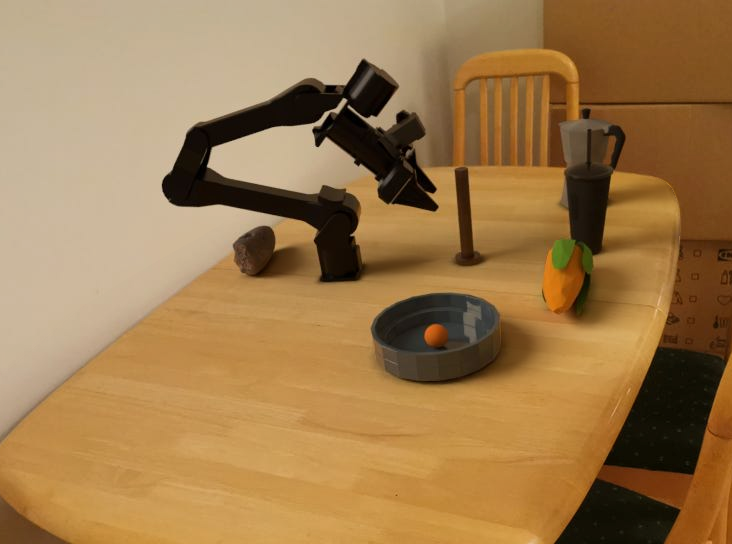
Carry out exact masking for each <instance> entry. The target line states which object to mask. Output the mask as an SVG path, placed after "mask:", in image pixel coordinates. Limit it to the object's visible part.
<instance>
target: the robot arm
mask: <svg viewBox="0 0 732 544" xmlns="http://www.w3.org/2000/svg"><path fill="white" fill-rule="evenodd" d="M399 88H400V85H399V83H398V82H397V80H395V79H394V78H393V77H392V76H391V75H390V74H389V73H388V72H387V71H386V70H385V69H383V68H379V66H377V65H375V64H373V63H372V62H370V61H368V60H367V59H366V58H364V57H363V58H362V59H361V60H360V61H359V63H358V64H357V65H356V69H355V71H354V73H353V74H352V75H351V76H350V79H349V80H348V81H347V83H346V84H325V83H323V82H322V81H321V80H319V79H317V78H315V77H307V78H303V79H302V80H300V81H298V82H296V83H295V84H293V85H291V86H290V87H288V88H286V89H285V90H283V91H281V92H279V93H278V94H277V95H275V96H273V97H272V98H270V99H268V100H265V101H262V102H259V103H256V104H254V105H251V106H248V107H244V108H241V109H239V110H236V111H233V112H229V113H227V114H223V115H221V116H217V117H215V118H212V119H209V120H206V121H198V122H196V123H195V124H193V125H192V126H191V127H190V128H189V129H188V130H187V131H186V133H185V138H184V141H183V143H182V147H181V148H180V150H179V153H178V155H177V157H176V159H175V161H174V164H173V165H172V169H171V170H170V171H169V172H168V173H166V174H165V176H164V177H163V178H162V181H161V192H162V193H163V196H164V197H165V198H166V200H167V201H168V203H170V204H171V205H173V206H175V207H179V208H180V207H181V208H205V207H213V206H224V207H229V208H235V209H240V210H244V211H251V212H255V213H260V214H266V215H270V216H276V217H281V218H284V219H285V218H286V219H290V220H291V219H292V220H295V221H301V222H303V223H306V224H308V225H309V226H310V227H312V228H314V229H315V230H316V233H315V236H314V238H313V243H314V245H315V246H316V247H315V248H316V253H317V256H318V263H319V266H320V268H319V269H320V273H321V274H320V276H319V278H318V281H319V282H337V281H355V280H356V279H357V277H358V276H359V273H360V272H361V270H362V269H363V266H364V264H363V259H362V252H361V247H360V244H358V243H357V239H356V236H355V235H354V233H355V232H356V231H357V229H358V226H359V223H360V219H361V215H362V205H361V202H360V201H359V200H358V198H357V197H356V195H354V194H353V193H350V192H347V188H346V187H344V188H336V187H333V186H329V185H327V184H321V188H320V190H319V192H316V193H304V192H299V191H295V190H290V189H285V188H280V187H275V186H270V185H264V184H260V183H254V182H249V181H244V180H239V179H234V178H229V177H226V176H223V175H222V174H220V173H219V172H218V171H216V170H214V169H213V168H211V167H208V166H209V164H210V159H211V156H212V151H213V148H215V147H218V146H221V145H224V144H227V143H230V142H233V141H236V140H240V139H243V138H245V137H248V136H252V135H254V134H255V135H256V134H258V133H261V132H264V131H266V130H269V129H272V128H279V127H298V126H299V127H300V126H306V125H311V124H316V123H317V122H319V121H320V120H321V119H322V118H323V116H324V115H325V113H327V112H329V113H328V114H327V115H326V117H325V118H324V120H323V122H322V123H321V124H320V125H314V126H313V127H312V129H311V133H312V134H313V138H314V146H315V147H316V148H320V146H321V145H322V144H323V142H324V141H325V140H326V139H327V140H329V141H330V142H331V143H333V145H335V146H336V147H338V148H339V149H340V150H342V151H343V152H344V153H346V154H347V155H348V156H349V157H351V158H352V159H353V164H354V165H356V166H357V167H360V166H362V167H364V168H365V169H366V170H368V171H369V172H370V173H372V174H373V175H374V180H375V181H376V182H377V187H376V190H377V191H376V192H377V197H378V199H379V200H381V202H384V203H385V204H386V205H390V204H391V205H399V206H405V207H411V208H414V209H419V210H424V211H428V212H432V213H436V212H437V211H438V209H439V207H440V206H439V204H438V203H437V202H436V201H435V200H434V199H433V198H432V197H431V195H430V194H432V195H434V194H435V193H436V192H437V191H438V187H437V186H436V185H435V184H434V183H433V181H432V179H430V177H429V176H428V175H427V174H426V172H425V171H424V170H423V169H422V167H421V166H420V165H419V164H418V161H417V151H416V148H415V147H414V142H416V141H420V140H421V139H422V138H424V137H426V134H427V132H426V131H427V129H426V127H425V125H424V124H423V123H422V120H421V119H420V117H419V115H418V113H417V112H416V111H415V112H414V111H412V112H411V113H410V112H408V111H407V110H405V109H402V110H400V111H398V112H397V113H396V114H395V122H396V123H394V124H392V125H391V127H389V128H387V130H385V129H383V127H381V126H375V127H374V126H372V125H371V124H370V123H369V122H367V121H366V120H365V119H369V118H371V117H374V118H377V117H379V115H380V114H381V113H382V111H383V110H384V109H385V107H386V106H387V105H388V103H389V102H390V101H391V99H392V98H393V96H394V95H395V94H396V92H397V91H398V90H399ZM344 99H345V100H346V101H345V102H344V103H343V105H342V106H341V108H340V110H339V111H338V112H335V111H333V110H335V109H337V108H338V107H339V105H340V104H341V102H342V101H343V100H344ZM363 118H364V119H363ZM408 151H410V152H408Z"/></svg>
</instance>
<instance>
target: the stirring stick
mask: <svg viewBox="0 0 732 544" xmlns="http://www.w3.org/2000/svg"><path fill="white" fill-rule="evenodd" d="M453 170H454V181H455V195H456V206H457V207H456V208H457V220H458V232H459V245H460V251H459V252H457V253H456V254H455V255H454V262H455V264H457V266H463V267H468V266H469V267H470V266H475V265H477V264H479V263H480V262H481V260H482V257H481V255H482V254H481V253H480V251H478V250H475V248H474V247H475V246H474V233H473V220H472V205H471V203H472V202H471V192H470V190H471V189H470V176H469V167H467V166H459V167H455V168H454V169H453Z"/></svg>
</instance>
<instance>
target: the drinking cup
mask: <svg viewBox="0 0 732 544" xmlns="http://www.w3.org/2000/svg"><path fill="white" fill-rule="evenodd" d="M591 135H592V129H587V161H585V162H580V163H577V164H575V165H573V166H571V167H568V168H567V167H566V168H565V169H564V170H563V176H564V178H565V177H566V186H567V198H568V208H567V209H568V220H569V231H570V233H569V234H570V239H571V240H575V245H576V244H577V243H578V242H583V243H584V244H585V245H586V246H587V247H588V248H589V249H590V250H591V252H592V256H593V255H597V254H600V253H601V251H602V247H603V239H604V231H605V225H606V218H607V209H608V203H609V200H608V197H609V196H610V189H611V188H610V187H611V179H612V175H614V170H613V168H612V167H611V166H609V165H610V164H605V163H604V162H603V163H601V162H596V161H591Z"/></svg>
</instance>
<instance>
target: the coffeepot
mask: <svg viewBox="0 0 732 544" xmlns="http://www.w3.org/2000/svg"><path fill="white" fill-rule="evenodd" d="M591 111H592V110H591V108H588V107H584V108H583V109H581V115H582V118H579V119H573V120H567V121H562V122H560V123H557V126H558V127H559V130H560V137H561V143H562V145H561V146H562V151H563V157H564V162H565V163H567V165H566V169H567V168H568V167H571V166H573V165H575V164H577V163H580V162H585V161H587V129H592V135H591V161H596V162H601V163H603V164H604V160H605V159H606V157H607V152H608V148H609V142H610V137H611V136H612V137H613V136H614V137H615V142H614V147H613V150H612V151H613V152H612V153H611V156H610V164H608V165H609V166H611V167H612V168H613V171H615V170H616V168H617V165H618V162H619V159H620V157H621V154H622V151H623V148H624V146H625V143H626V140H627V136H626V133H625V131H624V130H623V129H622V127H621V126H620V125H617V124H613V122H611V121H608V120H605V119H603V118H593V117H590V115H591ZM608 201H609V196H608ZM560 204H561V205H562V206H563V207H564V208H566V209H568V198H567V186H566V177H565V176H564V179H563V185H562V190H561V197H560Z"/></svg>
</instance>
